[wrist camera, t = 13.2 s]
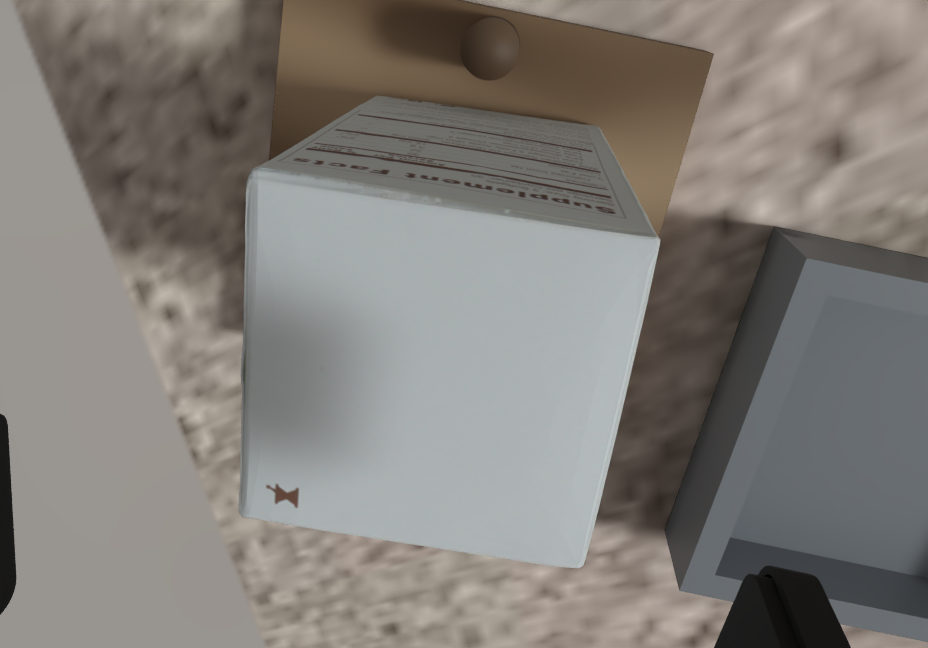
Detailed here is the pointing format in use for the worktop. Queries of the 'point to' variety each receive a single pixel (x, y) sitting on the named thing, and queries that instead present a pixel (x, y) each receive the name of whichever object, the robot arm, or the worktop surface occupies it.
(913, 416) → the tray
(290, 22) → the peg stand
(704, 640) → the worktop surface
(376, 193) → the supplement box
